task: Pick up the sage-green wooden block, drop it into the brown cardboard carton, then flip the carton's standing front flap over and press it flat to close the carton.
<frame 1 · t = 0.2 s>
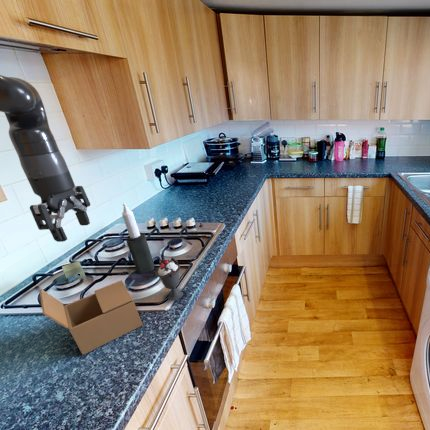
hand: (74, 232, 74), 24 cm above the worktop, tool pointing down, fingers open, 8 cm apart
block: (76, 277, 96), on the worktop
carton: (109, 328, 76), on the worktop
sundae: (176, 297, 87), on the worktop
candle: (146, 269, 100), on the worktop
carton flap: (53, 308, 66), point 12 cm above the worktop, hinge at 110.0°
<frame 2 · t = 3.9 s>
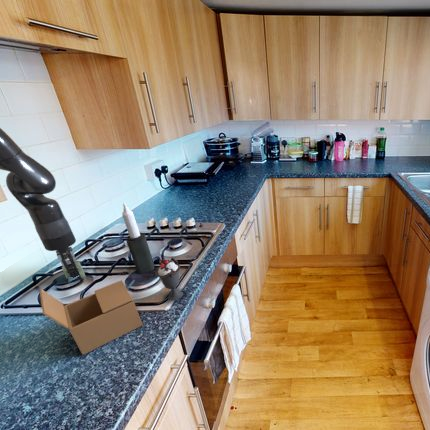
hand: (76, 276, 96), 0 cm above the worktop, tool pointing down, fingers closed on block, 4 cm apart
block: (76, 277, 96), on the worktop, touching gripper
everything else where it was.
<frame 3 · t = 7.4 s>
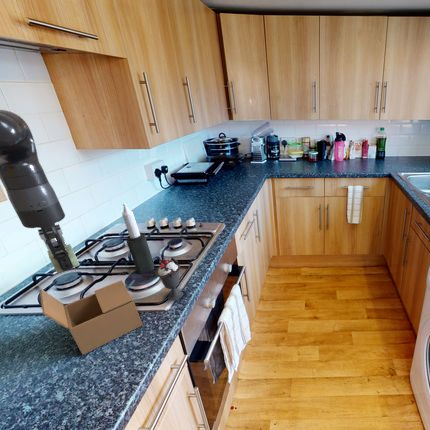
hand: (66, 264, 73), 17 cm above the worktop, tool pointing down, fingers closed on block, 4 cm apart
block: (67, 265, 73), point 17 cm above the worktop, touching gripper
everything else where it was.
when the fingers open (7 cm above the worktop, at t = 11.1 s): block drops 6 cm, resting on carton.
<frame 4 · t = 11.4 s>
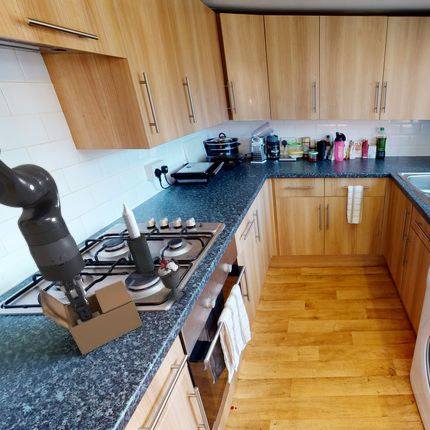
hand: (84, 310, 71), 8 cm above the worktop, tool pointing down, fingers open, 7 cm apart
block: (95, 333, 74), resting on carton
everything else where it was.
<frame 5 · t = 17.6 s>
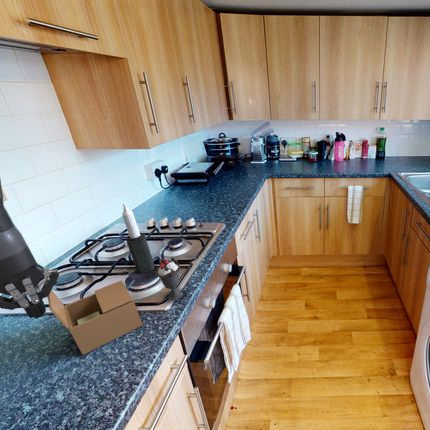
hand: (39, 315, 64), 12 cm above the worktop, tool pointing down, fingers closed
carton flap: (57, 306, 66), point 12 cm above the worktop, hinge at 98.3°, touching gripper
everything else where it was.
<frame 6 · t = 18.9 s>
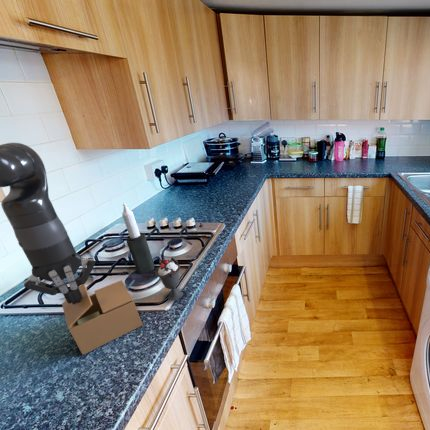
hand: (76, 301, 69), 12 cm above the worktop, tool pointing down, fingers closed
carton flap: (76, 304, 69), point 11 cm above the worktop, hinge at 32.5°, touching gripper
everything else where it was.
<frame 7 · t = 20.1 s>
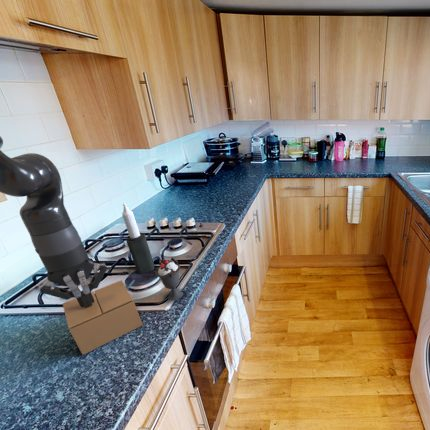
hand: (88, 305, 71), 9 cm above the worktop, tool pointing down, fingers closed
carton flap: (82, 308, 70), point 9 cm above the worktop, hinge at -0.6°, touching gripper
everything else where it was.
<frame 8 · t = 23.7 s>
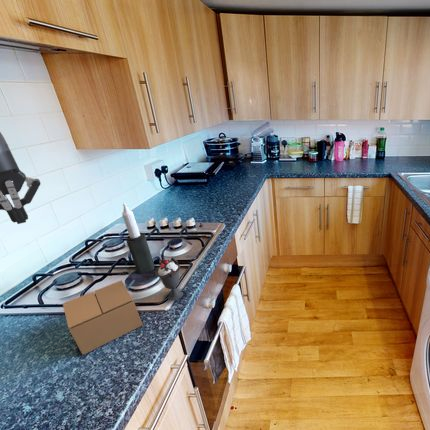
hand: (21, 222, 69), 29 cm above the worktop, tool pointing down, fingers closed
carton flap: (82, 308, 70), point 9 cm above the worktop, hinge at -0.6°
everything else where it was.
at the end: block inside the target area in the carton (2.9 cm from its centre), point 0.5 cm above the carton's base; carton flap at -1° (first picture: +110°) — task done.
